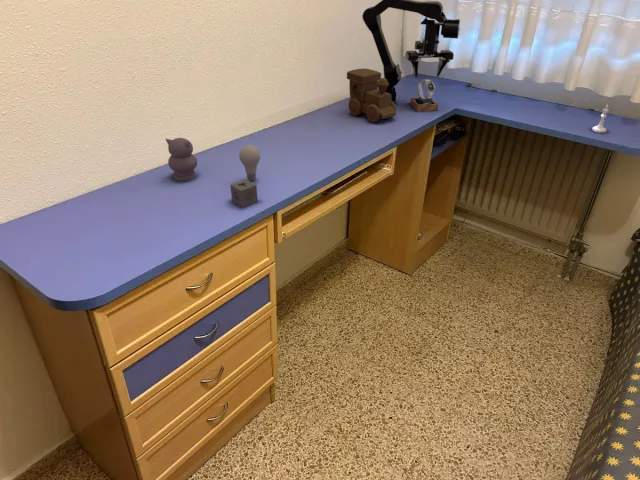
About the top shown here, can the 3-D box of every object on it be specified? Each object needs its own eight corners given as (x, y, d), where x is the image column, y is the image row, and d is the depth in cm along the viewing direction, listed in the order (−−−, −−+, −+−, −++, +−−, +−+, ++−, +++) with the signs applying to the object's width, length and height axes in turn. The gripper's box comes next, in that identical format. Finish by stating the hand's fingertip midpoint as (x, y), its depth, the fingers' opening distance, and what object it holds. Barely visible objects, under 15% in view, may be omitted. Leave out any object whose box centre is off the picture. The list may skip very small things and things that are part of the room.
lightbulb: (244, 186, 140) (241, 150, 135) (239, 178, 145) (235, 143, 139) (264, 183, 143) (262, 147, 137) (258, 175, 147) (256, 140, 141)
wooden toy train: (343, 113, 198) (344, 71, 190) (363, 107, 205) (365, 67, 196) (378, 125, 186) (381, 81, 177) (398, 119, 192) (402, 76, 183)
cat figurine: (203, 172, 148) (198, 135, 142) (192, 183, 142) (186, 144, 135) (178, 169, 150) (172, 132, 143) (165, 180, 143) (158, 142, 137)
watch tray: (417, 111, 201) (417, 104, 200) (409, 103, 210) (410, 97, 209) (436, 110, 202) (437, 104, 201) (428, 103, 211) (429, 97, 210)
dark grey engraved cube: (246, 195, 136) (245, 179, 133) (257, 201, 133) (256, 185, 130) (232, 201, 133) (230, 184, 130) (242, 207, 130) (241, 190, 127)
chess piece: (592, 131, 182) (600, 105, 177) (591, 127, 186) (599, 101, 181) (606, 133, 181) (615, 106, 175) (605, 129, 185) (614, 103, 179)
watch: (425, 109, 202) (428, 82, 196) (412, 104, 207) (415, 78, 202) (435, 107, 205) (438, 80, 199) (421, 102, 210) (424, 76, 204)
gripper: (447, 33, 200) (442, 71, 208) (403, 33, 198) (399, 72, 206) (456, 37, 190) (450, 78, 199) (410, 38, 189) (406, 79, 197)
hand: (426, 77), depth 200 cm, fingers open, 9 cm apart
